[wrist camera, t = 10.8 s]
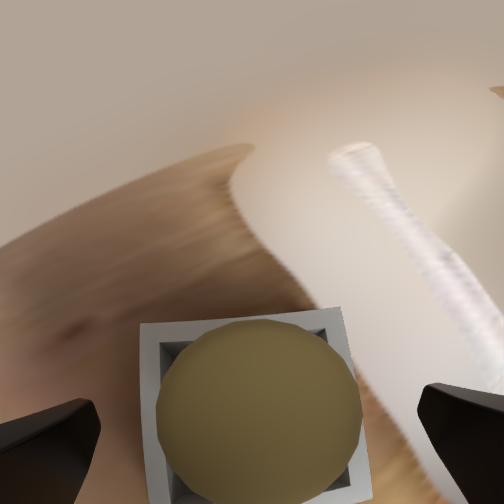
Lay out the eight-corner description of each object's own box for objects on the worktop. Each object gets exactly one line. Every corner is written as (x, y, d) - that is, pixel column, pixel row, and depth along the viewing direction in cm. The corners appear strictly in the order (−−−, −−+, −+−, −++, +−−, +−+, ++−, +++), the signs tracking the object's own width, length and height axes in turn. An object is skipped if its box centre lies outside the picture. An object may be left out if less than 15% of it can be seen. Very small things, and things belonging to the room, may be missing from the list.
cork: (241, 348, 18) (243, 237, 8) (327, 412, 16) (440, 376, 6) (169, 427, 15) (69, 415, 6) (258, 496, 13) (285, 585, 4)
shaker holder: (356, 492, 14) (383, 503, 10) (162, 513, 13) (143, 530, 10) (328, 322, 20) (347, 296, 16) (150, 337, 19) (130, 314, 15)
